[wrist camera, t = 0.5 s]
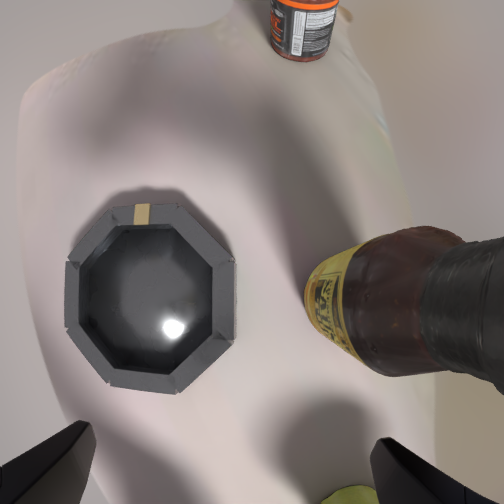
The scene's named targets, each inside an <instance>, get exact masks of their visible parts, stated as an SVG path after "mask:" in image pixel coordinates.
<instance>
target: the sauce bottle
mask: <svg viewBox="0 0 504 504" xmlns="http://www.w3.org/2000/svg"><path fill="white" fill-rule="evenodd" d="M304 304H305V310H306V313H307V316H308V318H309V320H310V322H311V323H312V325H313V326H314V327H315V328H316V330H317V331H318V332H320V333H321V334H322V335H324V336H325V337H326V338H328V339H329V340H331V341H332V342H333V343H335V344H336V345H337V346H339V347H340V348H342V349H343V350H344V351H346V352H347V353H349V354H350V355H352V356H353V357H355V358H356V359H357V360H359V361H360V362H361V363H363V364H364V365H366V366H367V367H369V368H370V369H372V370H373V371H375V372H377V373H379V374H382V375H384V376H388V377H400V376H409V375H417V374H425V373H432V372H439V371H447V370H450V371H452V372H456V373H467V374H470V375H472V376H474V377H477V378H479V379H482V380H486V381H489V382H491V383H493V384H494V386H495V387H496V389H497V390H498V391H499V392H500V393H501V394H503V395H504V237H501V238H497V239H491V240H489V241H488V240H487V241H482V242H478V241H474V242H468V243H466V242H465V241H463V240H462V238H460V237H459V236H456V235H455V234H454V233H452V232H450V231H448V230H443V229H439V228H435V227H431V226H420V227H411V228H409V229H402V230H399V231H396V232H394V233H391V234H386V235H382V236H379V237H376V238H374V239H371V240H369V241H367V242H365V243H362V244H360V245H357V246H355V247H352V248H350V249H348V250H345V251H343V252H341V253H339V254H336V255H334V256H332V257H330V258H328V259H326V260H324V261H323V262H322V263H320V264H319V265H318V266H317V267H316V268H315V269H314V271H313V272H312V273H311V275H310V277H309V279H308V282H307V284H306V287H305V289H304Z"/></svg>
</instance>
